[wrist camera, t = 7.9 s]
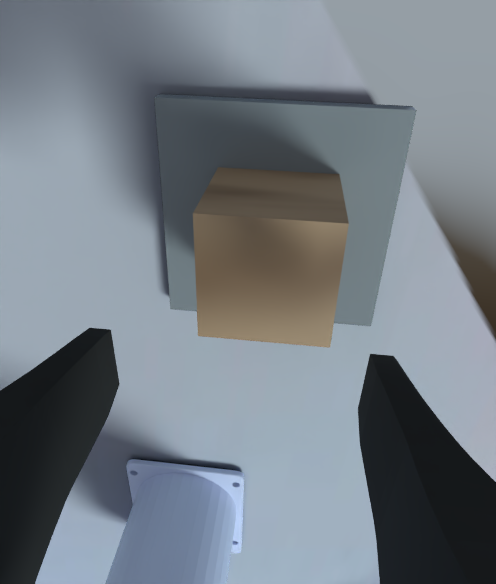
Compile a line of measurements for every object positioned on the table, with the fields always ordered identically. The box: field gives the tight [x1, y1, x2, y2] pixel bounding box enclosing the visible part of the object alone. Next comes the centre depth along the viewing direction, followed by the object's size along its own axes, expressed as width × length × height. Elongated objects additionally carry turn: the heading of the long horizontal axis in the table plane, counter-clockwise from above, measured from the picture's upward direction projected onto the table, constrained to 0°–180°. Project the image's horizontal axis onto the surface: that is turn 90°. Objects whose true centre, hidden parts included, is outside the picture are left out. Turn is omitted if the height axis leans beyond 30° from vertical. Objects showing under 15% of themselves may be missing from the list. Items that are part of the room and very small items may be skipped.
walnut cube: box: [193, 167, 349, 347], centre depth 18 cm, size 5×5×5 cm
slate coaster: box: [154, 94, 416, 326], centre depth 20 cm, size 10×10×1 cm
